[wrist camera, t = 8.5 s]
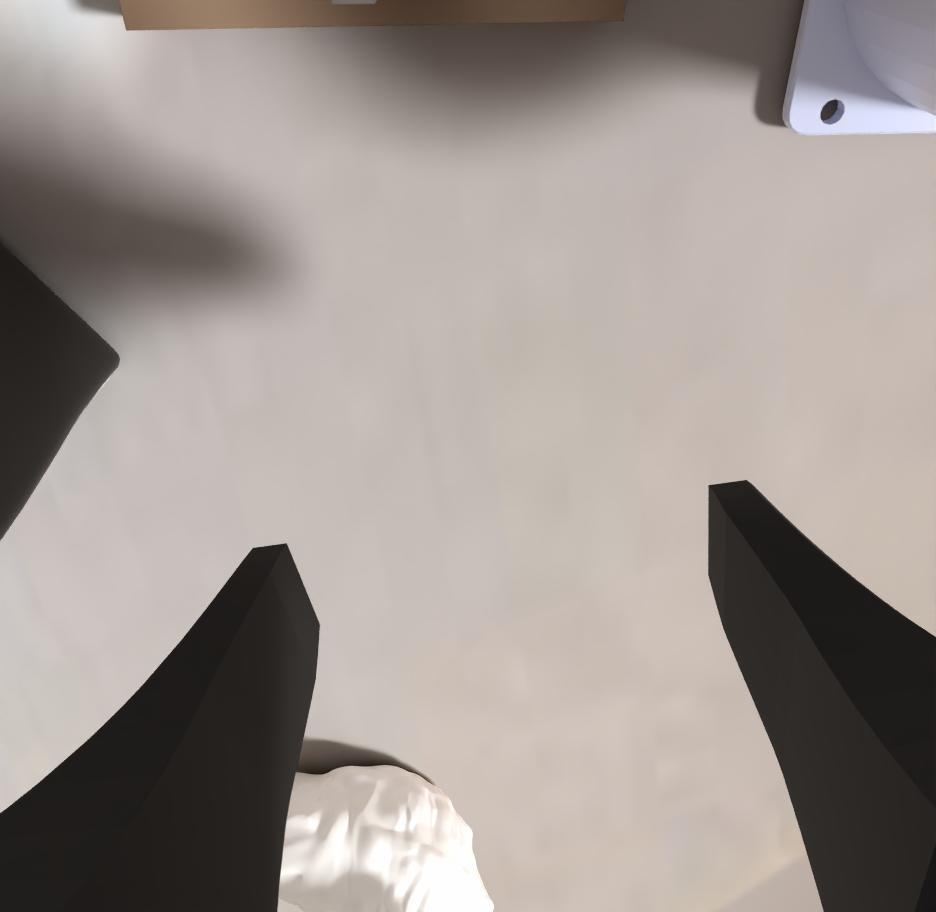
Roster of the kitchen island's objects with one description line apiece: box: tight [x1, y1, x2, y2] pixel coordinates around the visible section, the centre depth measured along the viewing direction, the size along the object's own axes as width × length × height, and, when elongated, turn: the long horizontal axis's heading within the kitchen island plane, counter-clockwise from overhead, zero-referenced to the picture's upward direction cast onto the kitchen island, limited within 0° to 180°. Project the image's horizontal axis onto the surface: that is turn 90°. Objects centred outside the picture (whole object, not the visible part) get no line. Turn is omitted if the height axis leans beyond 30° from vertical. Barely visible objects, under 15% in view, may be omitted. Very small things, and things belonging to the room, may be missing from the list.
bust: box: [278, 765, 493, 912], centre depth 31 cm, size 12×8×11 cm
